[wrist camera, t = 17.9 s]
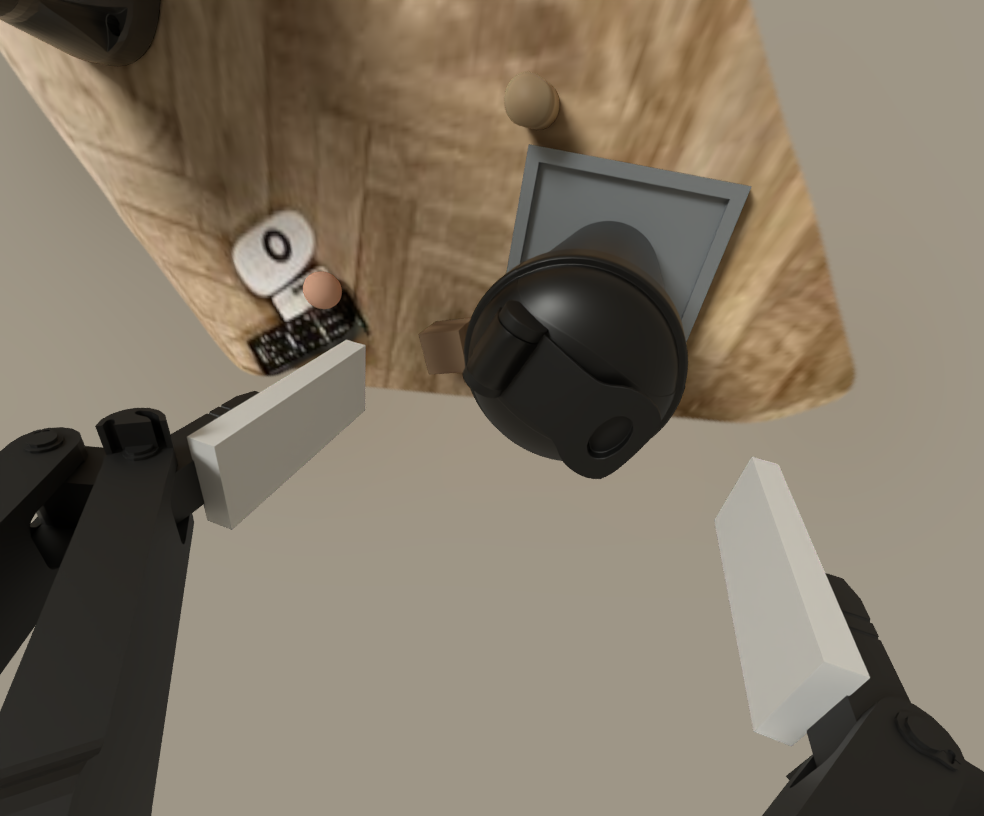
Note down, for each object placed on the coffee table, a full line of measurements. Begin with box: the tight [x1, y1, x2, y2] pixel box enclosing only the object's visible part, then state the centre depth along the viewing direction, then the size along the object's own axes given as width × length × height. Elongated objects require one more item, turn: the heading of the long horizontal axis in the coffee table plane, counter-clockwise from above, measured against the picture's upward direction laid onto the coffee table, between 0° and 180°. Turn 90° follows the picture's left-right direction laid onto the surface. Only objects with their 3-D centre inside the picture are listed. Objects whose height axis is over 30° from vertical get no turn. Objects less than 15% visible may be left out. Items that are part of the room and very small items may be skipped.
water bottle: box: [463, 221, 688, 479], centre depth 27 cm, size 10×10×23 cm
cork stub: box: [504, 72, 560, 130], centre depth 31 cm, size 3×3×4 cm
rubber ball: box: [303, 272, 342, 309], centre depth 44 cm, size 4×4×4 cm
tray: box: [506, 144, 751, 342], centre depth 37 cm, size 16×16×1 cm
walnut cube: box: [419, 318, 471, 374], centre depth 43 cm, size 4×4×4 cm
